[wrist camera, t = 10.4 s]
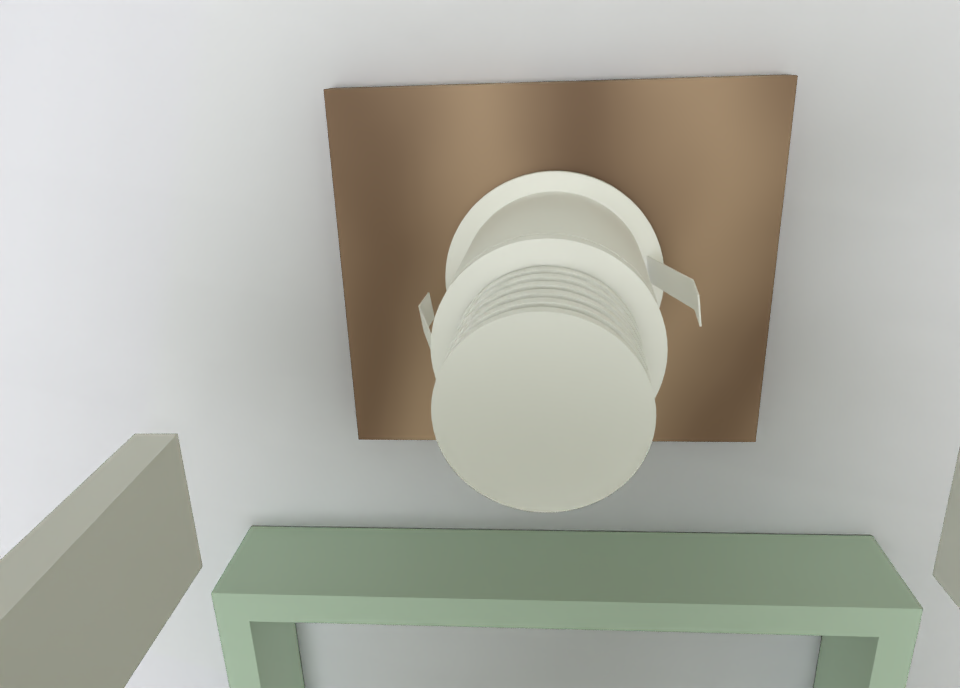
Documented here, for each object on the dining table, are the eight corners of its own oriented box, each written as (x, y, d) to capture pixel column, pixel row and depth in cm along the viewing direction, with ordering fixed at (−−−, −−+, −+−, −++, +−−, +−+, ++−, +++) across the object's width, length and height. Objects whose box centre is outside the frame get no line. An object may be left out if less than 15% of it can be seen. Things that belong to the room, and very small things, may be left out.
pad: (364, 426, 28) (358, 439, 27) (332, 88, 24) (323, 89, 23) (748, 428, 27) (755, 441, 26) (786, 74, 23) (797, 75, 22)
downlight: (669, 149, 23) (734, 220, 14) (687, 361, 25) (752, 544, 16) (414, 190, 24) (315, 280, 15) (454, 387, 27) (391, 570, 17)
